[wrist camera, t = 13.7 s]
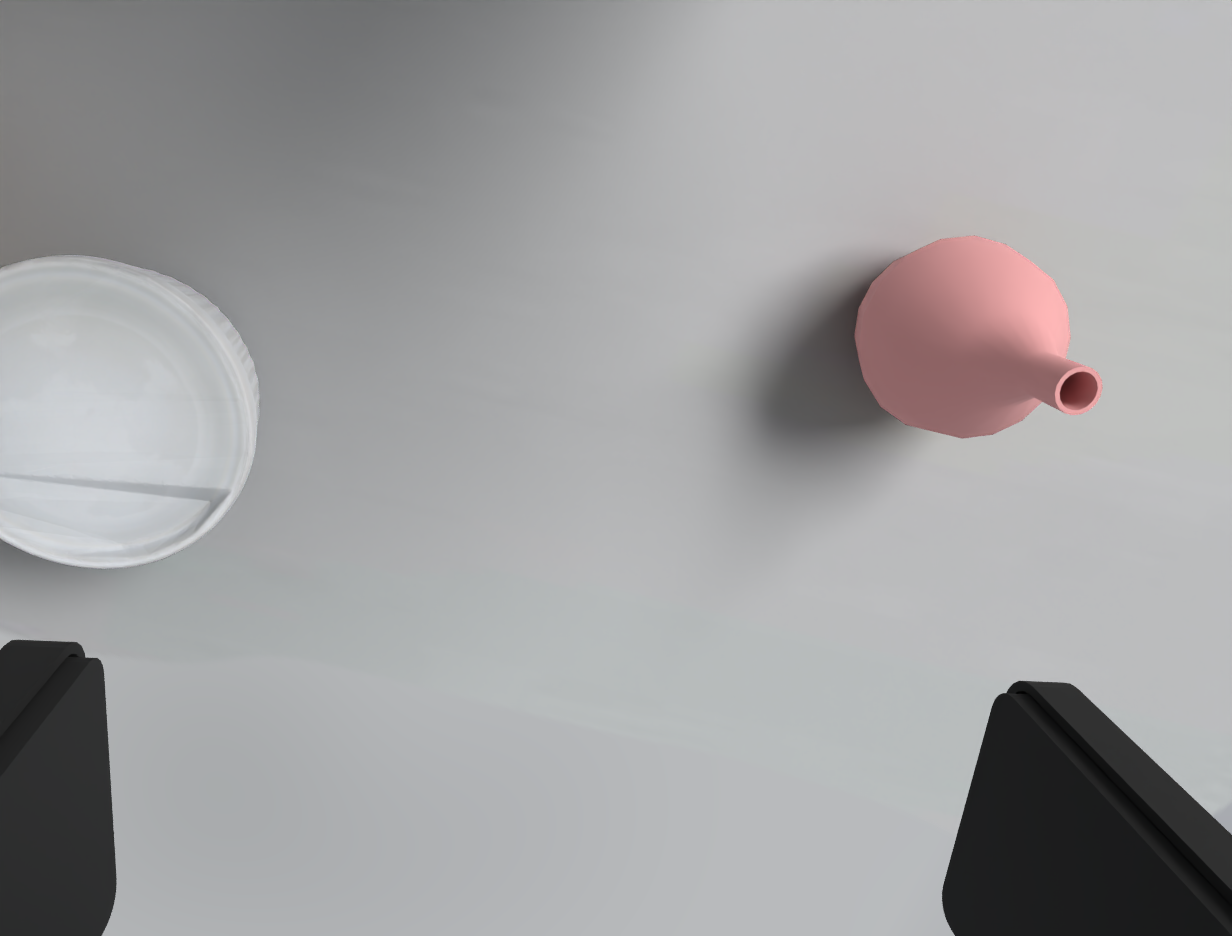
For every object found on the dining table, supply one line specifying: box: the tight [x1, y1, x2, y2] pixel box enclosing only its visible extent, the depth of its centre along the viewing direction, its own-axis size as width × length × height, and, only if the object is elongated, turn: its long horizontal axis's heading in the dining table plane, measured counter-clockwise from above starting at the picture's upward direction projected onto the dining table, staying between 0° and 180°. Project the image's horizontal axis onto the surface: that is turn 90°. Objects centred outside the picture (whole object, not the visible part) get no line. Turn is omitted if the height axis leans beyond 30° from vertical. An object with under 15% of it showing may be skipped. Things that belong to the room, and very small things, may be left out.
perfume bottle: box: [854, 236, 1102, 438], centre depth 35 cm, size 8×8×12 cm
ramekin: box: [0, 255, 260, 569], centre depth 35 cm, size 11×11×5 cm
